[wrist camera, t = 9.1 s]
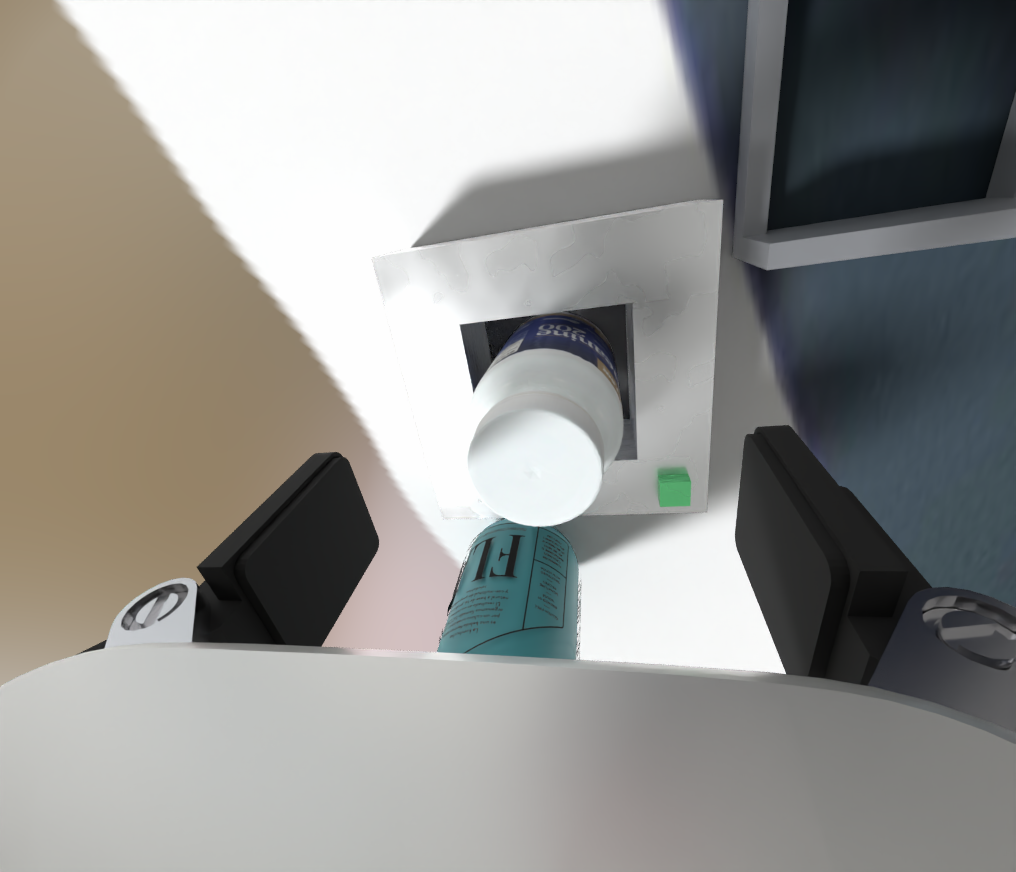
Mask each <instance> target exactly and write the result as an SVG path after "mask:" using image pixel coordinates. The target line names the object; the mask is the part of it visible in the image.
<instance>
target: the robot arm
mask: <svg viewBox="0 0 1016 872" xmlns="http://www.w3.org/2000/svg"><path fill="white" fill-rule="evenodd" d="M735 541H736V547H737V550H738V553H739V555H740V558H741V560H742V563H743V565H744V568H745V571H746V573H747V576H748V578H749V581H750V583H751V586H752V588H753V591H754V593H755V596H756V598H757V601H758V603H759V606H760V608H761V611H762V613H763V616H764V619H765V621H766V624H767V626H768V629H769V631H770V634H771V636H772V639H773V641H774V644H775V646H776V649H777V651H778V654H779V656H780V659H781V661H782V664H783V667H784V669H785V672H786V674H779V673H770V672H758V671H744V670H730V669H716V668H703V667H689V666H675V665H661V664H643V663H626V662H608V661H590V660H572V659H555V658H537V657H519V656H500V655H480V654H461V653H442V652H421V651H401V650H380V649H361V648H338V647H321V646H322V644H323V643H324V641H325V639H326V638H327V636H328V634H329V632H330V631H331V629H332V627H333V626H334V624H335V622H336V621H337V619H338V617H339V615H340V613H341V612H342V610H343V608H344V607H345V605H346V603H347V602H348V600H349V598H350V597H351V595H352V593H353V591H354V590H355V588H356V586H357V585H358V583H359V581H360V580H361V578H362V576H363V575H364V572H365V571H366V569H367V568H368V566H369V564H370V563H371V561H372V559H373V558H374V556H375V554H376V552H377V550H378V547H379V539H378V535H377V533H376V530H375V528H374V525H373V522H372V520H371V517H370V514H369V512H368V509H367V507H366V504H365V502H364V499H363V496H362V494H361V491H360V489H359V486H358V484H357V481H356V478H355V476H354V473H353V471H352V468H351V466H350V463H349V461H348V460H347V459H346V458H344V457H343V456H342V455H341V454H340V453H337V452H330V453H316V454H314V455H313V456H311V457H310V458H309V459H308V460H307V461H306V462H305V463H304V464H303V465H302V466H301V467H300V468H299V469H298V470H297V471H296V472H295V473H294V474H293V475H292V476H291V477H290V478H288V479H287V481H285V482H284V483H283V484H282V485H281V486H280V487H279V488H278V489H277V490H276V491H275V492H274V493H273V494H272V495H271V496H270V497H269V498H268V499H267V500H266V501H265V502H264V503H263V504H262V505H261V506H259V508H257V509H256V510H255V511H254V512H253V513H252V514H251V515H250V516H249V517H248V518H247V519H246V520H245V521H244V522H243V523H242V524H241V525H240V526H239V527H238V528H237V529H236V530H235V531H234V532H233V533H232V534H231V535H230V536H229V537H228V538H226V540H224V541H223V542H222V543H221V544H220V545H219V546H218V547H217V548H216V549H215V550H214V551H213V552H212V553H211V554H210V555H209V556H208V557H207V558H206V559H205V560H204V561H203V562H202V563H201V564H200V565H199V566H198V567H197V568H198V570H199V571H200V573H201V574H202V576H203V577H204V579H205V581H204V582H203V583H202V584H201V585H200V586H198V584H197V583H196V582H195V581H194V580H192V579H190V578H178V579H172V580H170V581H166V582H164V583H161V584H159V585H157V586H155V587H153V588H151V589H149V590H147V591H146V592H144V593H142V594H141V595H139V596H138V597H136V598H135V599H134V600H132V601H131V602H130V603H129V604H128V605H126V606H125V607H124V608H123V610H122V611H121V612H120V613H119V614H118V615H117V616H116V618H115V620H114V622H113V624H112V626H111V629H110V632H109V635H108V639H107V640H105V641H103V642H101V643H99V644H97V645H95V646H93V647H91V648H89V649H87V650H85V651H83V652H81V653H79V654H77V655H75V656H71V657H68V658H65V659H61V660H58V661H55V662H52V663H49V664H47V665H44V666H41V667H39V668H36V669H34V670H32V671H30V672H27V673H25V674H23V675H20V676H18V677H16V678H14V679H12V680H10V681H8V682H7V683H5V684H3V685H2V686H0V872H1016V608H1015V607H1013V606H1010V605H1008V604H1006V603H1004V602H1002V601H999V600H997V599H995V598H993V597H990V596H986V595H983V594H980V593H976V592H973V591H970V590H964V589H957V588H950V587H938V588H932V587H931V586H930V585H929V583H928V582H927V581H926V580H925V579H924V577H923V576H922V575H921V574H920V573H919V571H918V570H917V569H916V568H915V567H914V566H913V564H912V563H911V562H910V561H909V560H908V558H907V557H906V556H905V555H904V554H903V552H902V551H901V550H900V549H899V548H898V546H897V545H896V544H895V543H894V542H893V541H892V539H891V538H890V537H889V536H888V535H887V533H886V532H885V531H884V530H883V529H882V527H881V526H880V525H879V524H878V523H877V522H876V520H875V519H874V518H873V517H872V516H871V514H870V513H869V512H868V511H867V510H866V508H865V507H864V506H863V505H862V504H861V503H860V501H859V500H858V499H857V498H856V497H855V495H854V494H853V493H852V492H851V491H850V490H849V489H847V488H846V487H842V486H839V485H838V484H837V483H836V482H835V480H834V479H833V478H832V477H831V475H830V474H829V473H828V472H827V471H826V469H825V468H824V467H823V466H822V464H821V463H820V462H819V461H818V460H817V458H816V457H815V456H814V455H813V453H812V452H811V451H810V450H809V449H808V447H807V446H806V445H805V444H804V442H803V441H802V440H801V439H800V438H799V436H798V435H797V434H796V433H795V431H794V430H793V429H792V428H791V427H790V426H789V425H783V426H766V427H757V428H756V430H755V432H754V434H747V435H746V437H745V442H744V451H743V461H742V471H741V480H740V490H739V500H738V510H737V519H736V529H735Z"/></svg>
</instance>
